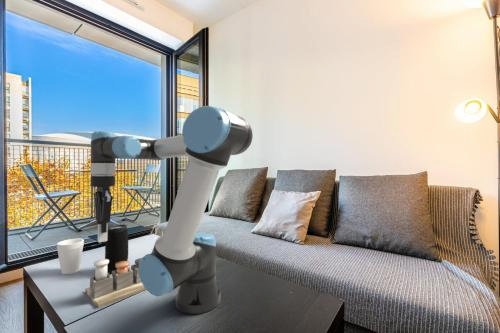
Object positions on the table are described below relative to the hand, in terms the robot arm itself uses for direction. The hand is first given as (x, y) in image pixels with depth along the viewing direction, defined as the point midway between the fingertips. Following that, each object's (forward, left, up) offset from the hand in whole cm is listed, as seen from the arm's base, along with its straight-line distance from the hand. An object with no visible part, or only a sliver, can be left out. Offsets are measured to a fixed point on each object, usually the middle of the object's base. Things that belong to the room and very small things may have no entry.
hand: (102, 241), depth 84 cm
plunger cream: (0, 0, -14) cm, 14 cm away
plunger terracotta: (0, -7, -17) cm, 18 cm away
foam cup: (+33, +3, -20) cm, 38 cm away
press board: (0, -7, -20) cm, 21 cm away
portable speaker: (+19, -11, -20) cm, 29 cm away
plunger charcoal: (0, -14, -18) cm, 22 cm away
